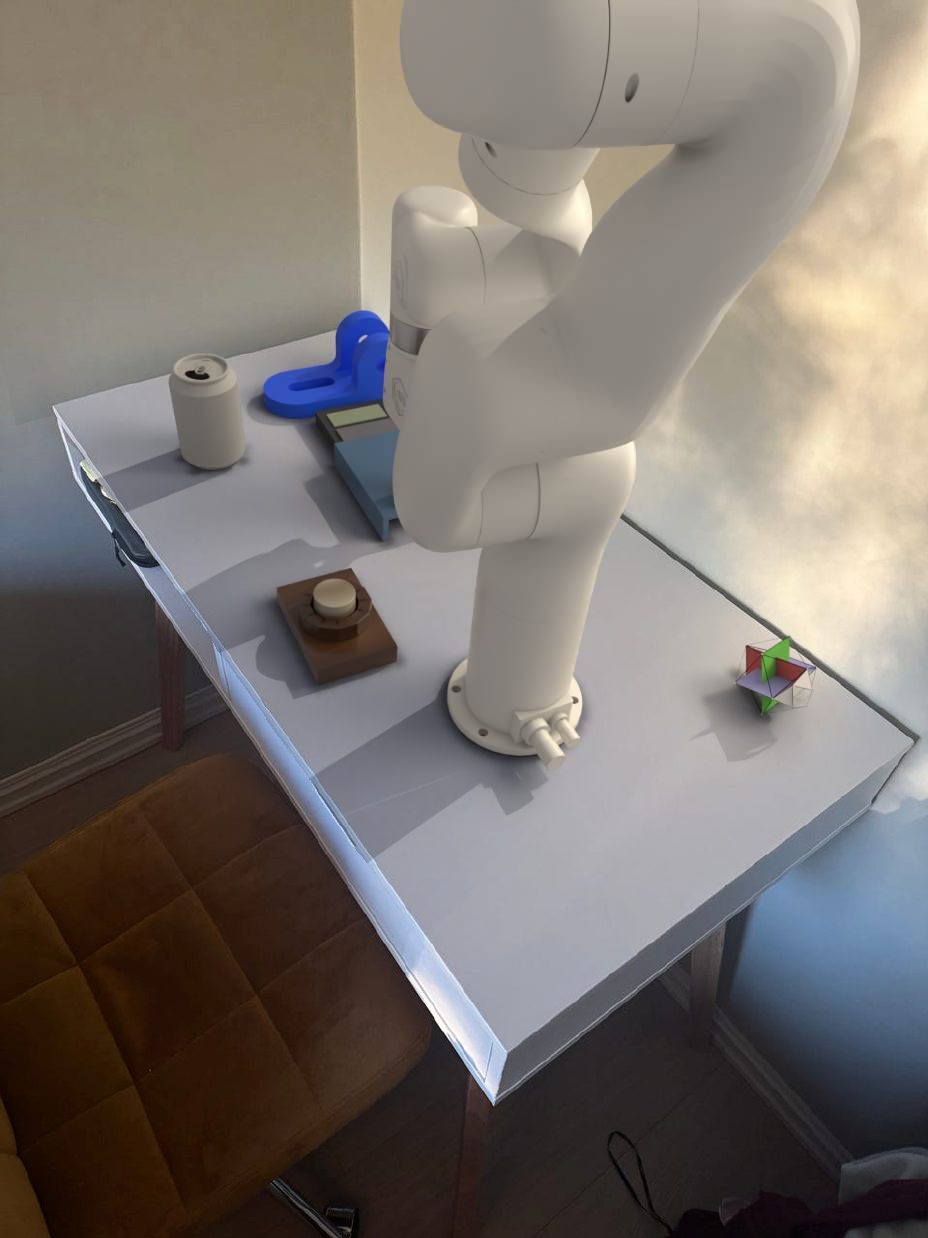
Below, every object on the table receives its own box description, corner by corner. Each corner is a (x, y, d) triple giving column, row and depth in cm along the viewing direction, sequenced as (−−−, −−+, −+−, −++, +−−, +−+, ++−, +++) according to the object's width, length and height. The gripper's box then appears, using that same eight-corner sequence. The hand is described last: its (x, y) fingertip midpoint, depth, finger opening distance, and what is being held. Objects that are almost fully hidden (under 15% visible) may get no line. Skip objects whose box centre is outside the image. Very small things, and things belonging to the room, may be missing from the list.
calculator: (426, 471, 110) (426, 455, 108) (356, 487, 106) (356, 471, 105) (381, 411, 118) (381, 396, 116) (315, 424, 115) (314, 409, 113)
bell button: (362, 613, 87) (361, 600, 85) (322, 625, 85) (321, 612, 84) (346, 587, 89) (346, 574, 88) (308, 597, 88) (307, 584, 86)
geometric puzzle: (706, 663, 87) (766, 648, 80) (751, 634, 91) (813, 618, 83) (739, 729, 87) (802, 721, 80) (783, 698, 91) (847, 687, 84)
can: (169, 464, 107) (152, 373, 98) (202, 431, 112) (188, 342, 103) (227, 480, 106) (214, 389, 97) (257, 446, 111) (247, 357, 102)
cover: (471, 517, 103) (475, 480, 100) (382, 541, 99) (383, 502, 96) (418, 447, 112) (419, 410, 109) (334, 466, 108) (333, 428, 105)
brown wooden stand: (397, 661, 88) (398, 632, 85) (318, 686, 85) (316, 657, 82) (351, 582, 95) (350, 554, 92) (277, 602, 92) (274, 573, 89)
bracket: (383, 368, 126) (384, 306, 119) (407, 398, 121) (409, 336, 114) (256, 390, 120) (250, 326, 113) (275, 423, 114) (269, 359, 108)
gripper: (362, 297, 90) (362, 449, 103) (425, 375, 81) (417, 530, 94) (431, 286, 92) (422, 436, 106) (499, 360, 83) (481, 514, 97)
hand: (420, 480), depth 100 cm, fingers closed
